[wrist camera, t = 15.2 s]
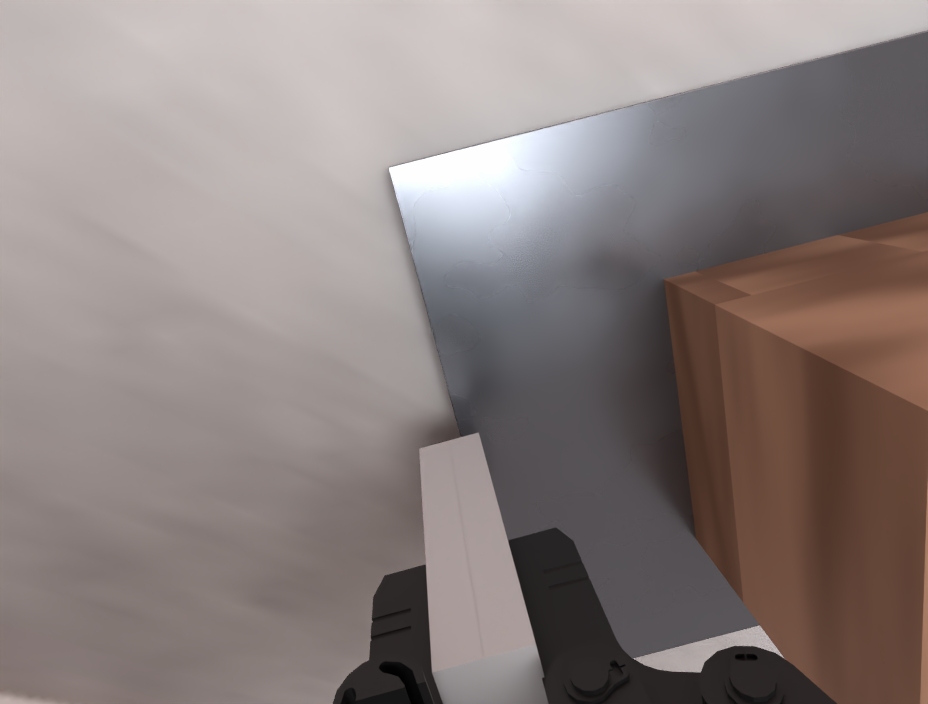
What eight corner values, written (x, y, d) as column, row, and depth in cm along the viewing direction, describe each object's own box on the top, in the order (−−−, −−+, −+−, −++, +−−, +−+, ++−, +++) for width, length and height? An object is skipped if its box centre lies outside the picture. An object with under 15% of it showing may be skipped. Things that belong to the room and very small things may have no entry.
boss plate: (521, 655, 20) (542, 749, 17) (390, 166, 15) (385, 170, 11) (1010, 527, 20) (1122, 596, 17) (1057, -3, 15) (1232, -44, 12)
